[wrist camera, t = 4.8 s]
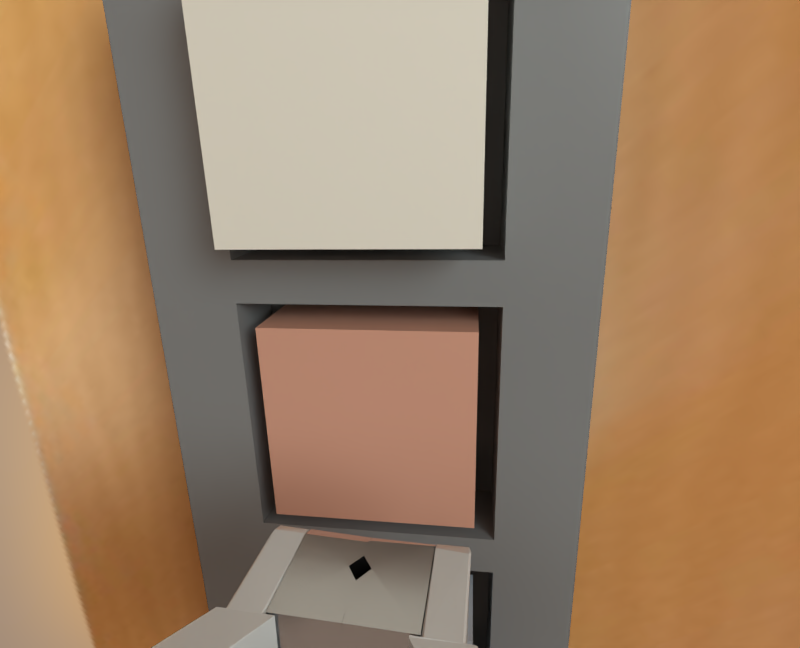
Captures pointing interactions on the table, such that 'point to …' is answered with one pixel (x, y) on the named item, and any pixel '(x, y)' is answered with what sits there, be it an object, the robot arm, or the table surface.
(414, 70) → the cream key
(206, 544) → the keypad
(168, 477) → the table surface
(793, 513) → the table surface
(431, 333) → the terracotta key
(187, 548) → the table surface
